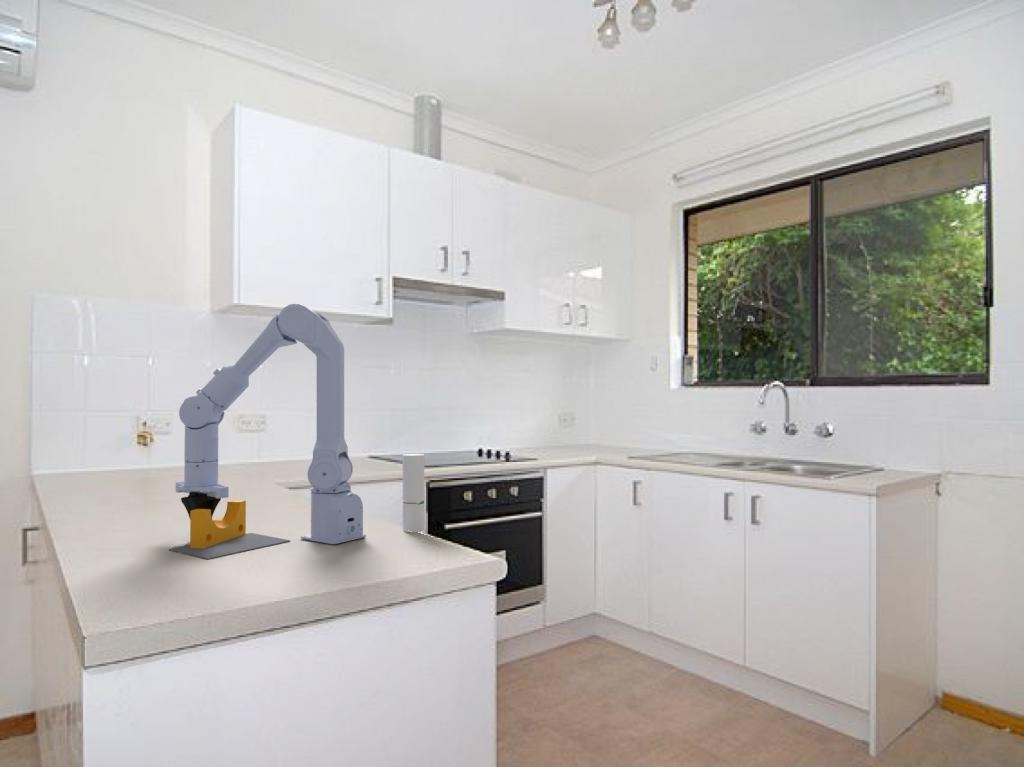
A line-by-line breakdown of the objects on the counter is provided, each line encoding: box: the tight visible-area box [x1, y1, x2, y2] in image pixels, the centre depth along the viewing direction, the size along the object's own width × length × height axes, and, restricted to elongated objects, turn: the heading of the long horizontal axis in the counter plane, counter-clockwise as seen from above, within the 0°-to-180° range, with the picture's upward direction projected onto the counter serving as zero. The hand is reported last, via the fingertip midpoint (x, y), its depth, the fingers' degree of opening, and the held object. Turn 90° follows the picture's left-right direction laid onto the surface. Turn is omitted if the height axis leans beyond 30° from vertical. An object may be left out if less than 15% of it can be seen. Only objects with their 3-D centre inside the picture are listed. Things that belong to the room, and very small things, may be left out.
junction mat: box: [168, 532, 291, 560], centre depth 115 cm, size 12×16×1 cm
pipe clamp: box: [189, 499, 247, 548], centre depth 119 cm, size 12×4×6 cm, turn 168°
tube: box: [402, 453, 425, 533], centre depth 129 cm, size 4×4×15 cm
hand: (200, 533), depth 121 cm, fingers closed
